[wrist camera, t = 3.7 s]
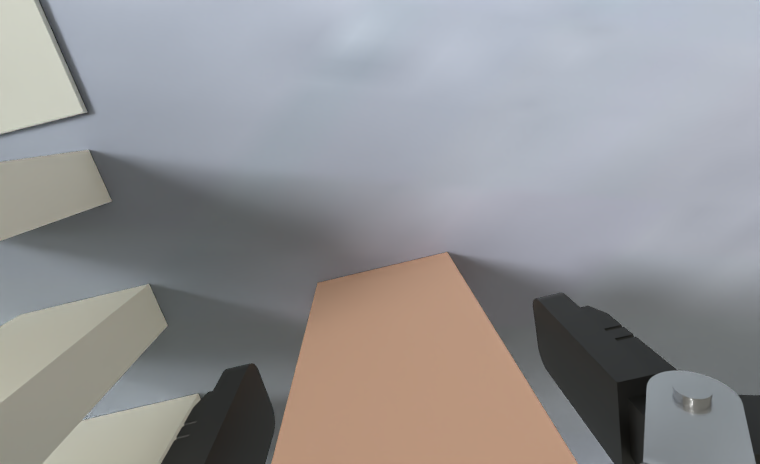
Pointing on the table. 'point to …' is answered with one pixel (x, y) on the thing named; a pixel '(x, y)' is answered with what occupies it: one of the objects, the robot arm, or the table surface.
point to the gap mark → (32, 70)
